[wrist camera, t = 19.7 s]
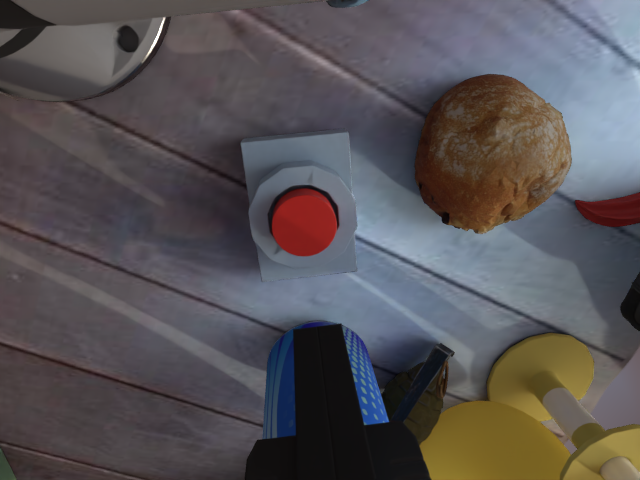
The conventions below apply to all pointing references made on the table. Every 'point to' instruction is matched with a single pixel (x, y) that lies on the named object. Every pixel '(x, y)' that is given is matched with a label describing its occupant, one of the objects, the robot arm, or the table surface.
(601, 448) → the candle
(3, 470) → the bracket
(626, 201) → the chili pepper
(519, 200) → the bread roll
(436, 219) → the table surface
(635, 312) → the running shoe
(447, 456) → the decorative vessel
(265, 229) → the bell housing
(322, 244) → the bell button
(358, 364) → the beer can
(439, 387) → the hand grenade
